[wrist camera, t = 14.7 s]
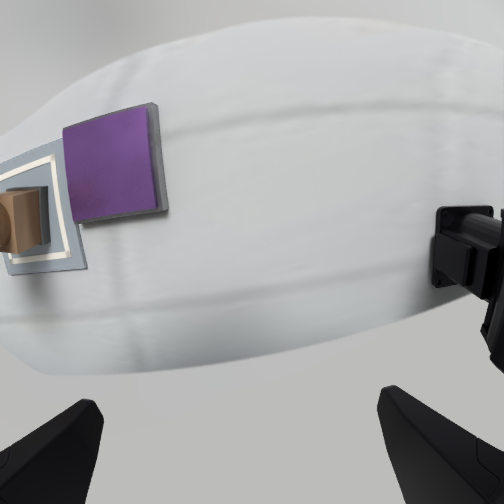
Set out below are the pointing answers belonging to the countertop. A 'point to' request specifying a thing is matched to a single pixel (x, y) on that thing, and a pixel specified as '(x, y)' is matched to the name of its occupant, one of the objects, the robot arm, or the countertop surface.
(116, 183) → the ink pad
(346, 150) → the countertop surface
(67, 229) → the marked card
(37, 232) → the wooden ball finial
